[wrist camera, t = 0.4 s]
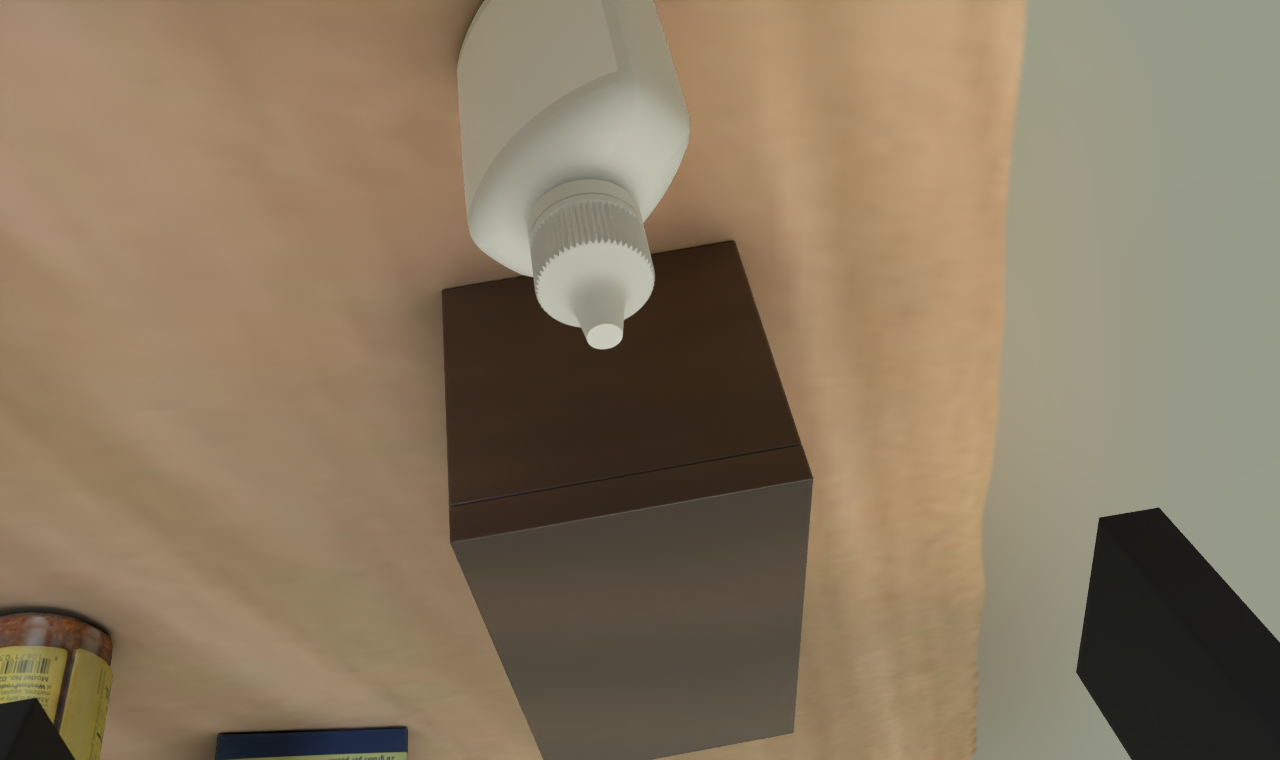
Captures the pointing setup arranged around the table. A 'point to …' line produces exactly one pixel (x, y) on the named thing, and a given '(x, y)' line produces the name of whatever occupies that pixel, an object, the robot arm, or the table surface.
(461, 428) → the dark brown wooden stand
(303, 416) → the table surface
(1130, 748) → the robot arm
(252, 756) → the protein box
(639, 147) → the eye dropper bottle
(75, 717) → the sauce bottle
